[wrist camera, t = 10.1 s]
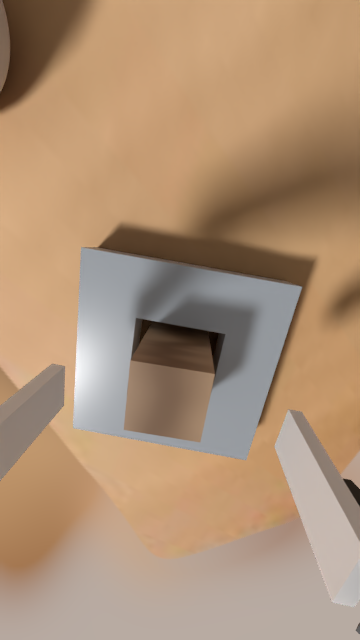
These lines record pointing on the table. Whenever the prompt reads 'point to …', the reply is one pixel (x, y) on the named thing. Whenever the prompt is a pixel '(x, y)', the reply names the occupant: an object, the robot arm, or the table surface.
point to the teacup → (4, 45)
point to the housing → (183, 310)
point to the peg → (170, 382)
